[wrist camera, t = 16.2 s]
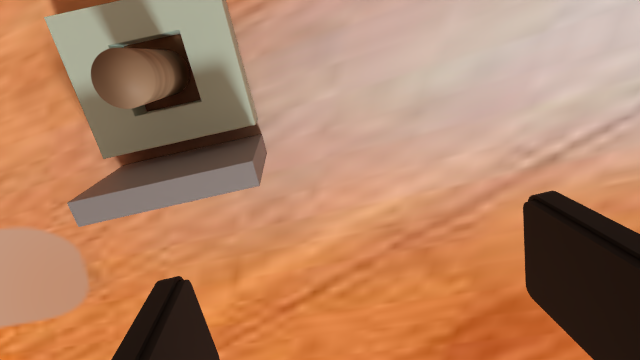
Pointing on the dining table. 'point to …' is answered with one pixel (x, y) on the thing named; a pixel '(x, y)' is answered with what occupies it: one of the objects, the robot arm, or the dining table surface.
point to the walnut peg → (138, 75)
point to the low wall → (172, 180)
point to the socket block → (148, 24)
